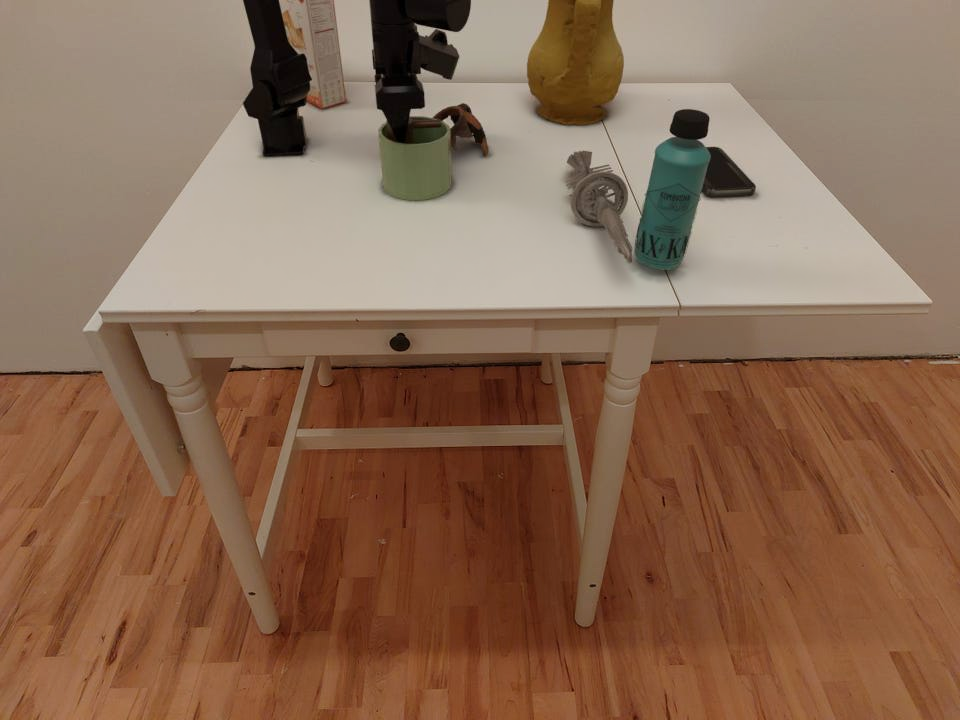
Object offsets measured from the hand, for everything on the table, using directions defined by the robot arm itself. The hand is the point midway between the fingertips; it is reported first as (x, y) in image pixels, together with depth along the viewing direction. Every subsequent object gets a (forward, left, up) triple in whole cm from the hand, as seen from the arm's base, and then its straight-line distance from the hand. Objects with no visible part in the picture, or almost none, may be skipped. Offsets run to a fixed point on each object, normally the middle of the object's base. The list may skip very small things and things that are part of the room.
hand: (400, 135), depth 97 cm
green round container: (+2, 0, -8) cm, 8 cm away
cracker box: (-15, +38, -8) cm, 42 cm away
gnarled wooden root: (+10, +11, -8) cm, 17 cm away
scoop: (+2, 0, -1) cm, 2 cm away
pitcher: (+32, +24, -8) cm, 41 cm away
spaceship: (+26, -16, -8) cm, 31 cm away
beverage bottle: (+31, -27, -8) cm, 42 cm away
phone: (+49, -3, -8) cm, 50 cm away
